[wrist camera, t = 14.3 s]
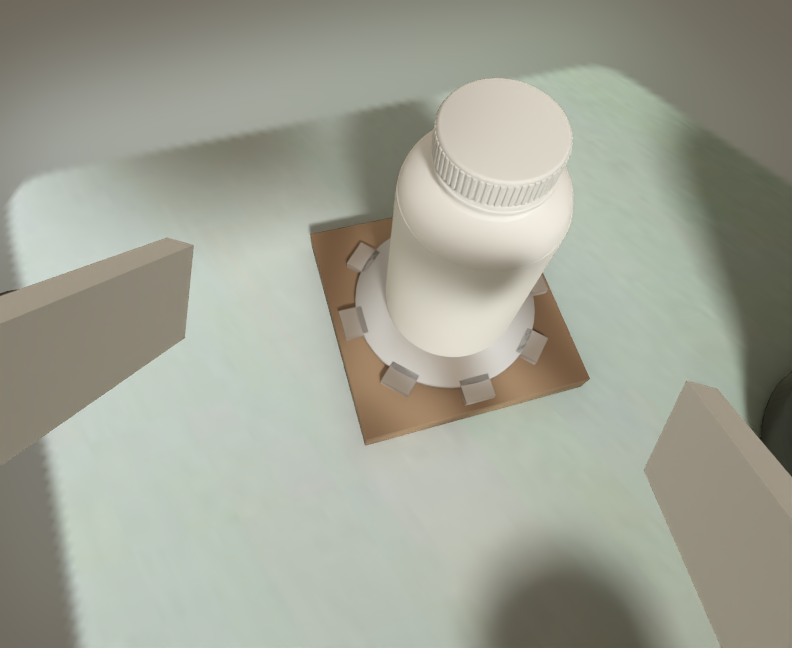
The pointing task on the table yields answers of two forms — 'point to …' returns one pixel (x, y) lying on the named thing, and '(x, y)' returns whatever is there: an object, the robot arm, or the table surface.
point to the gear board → (424, 372)
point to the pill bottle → (478, 215)
